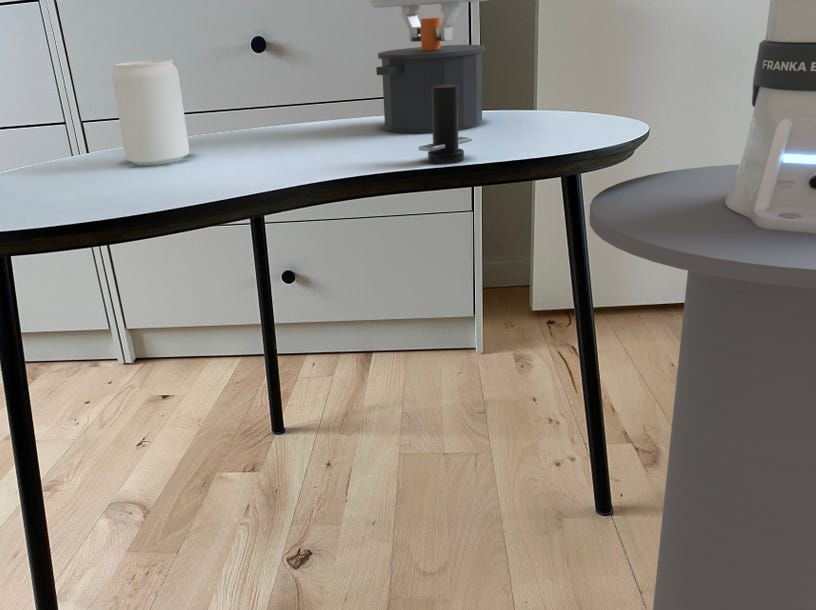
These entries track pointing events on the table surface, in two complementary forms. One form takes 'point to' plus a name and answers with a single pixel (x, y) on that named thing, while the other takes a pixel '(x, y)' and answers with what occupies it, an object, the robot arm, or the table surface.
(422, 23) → the lid
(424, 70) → the pot
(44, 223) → the table surface
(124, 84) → the beverage can
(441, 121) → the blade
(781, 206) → the robot arm
